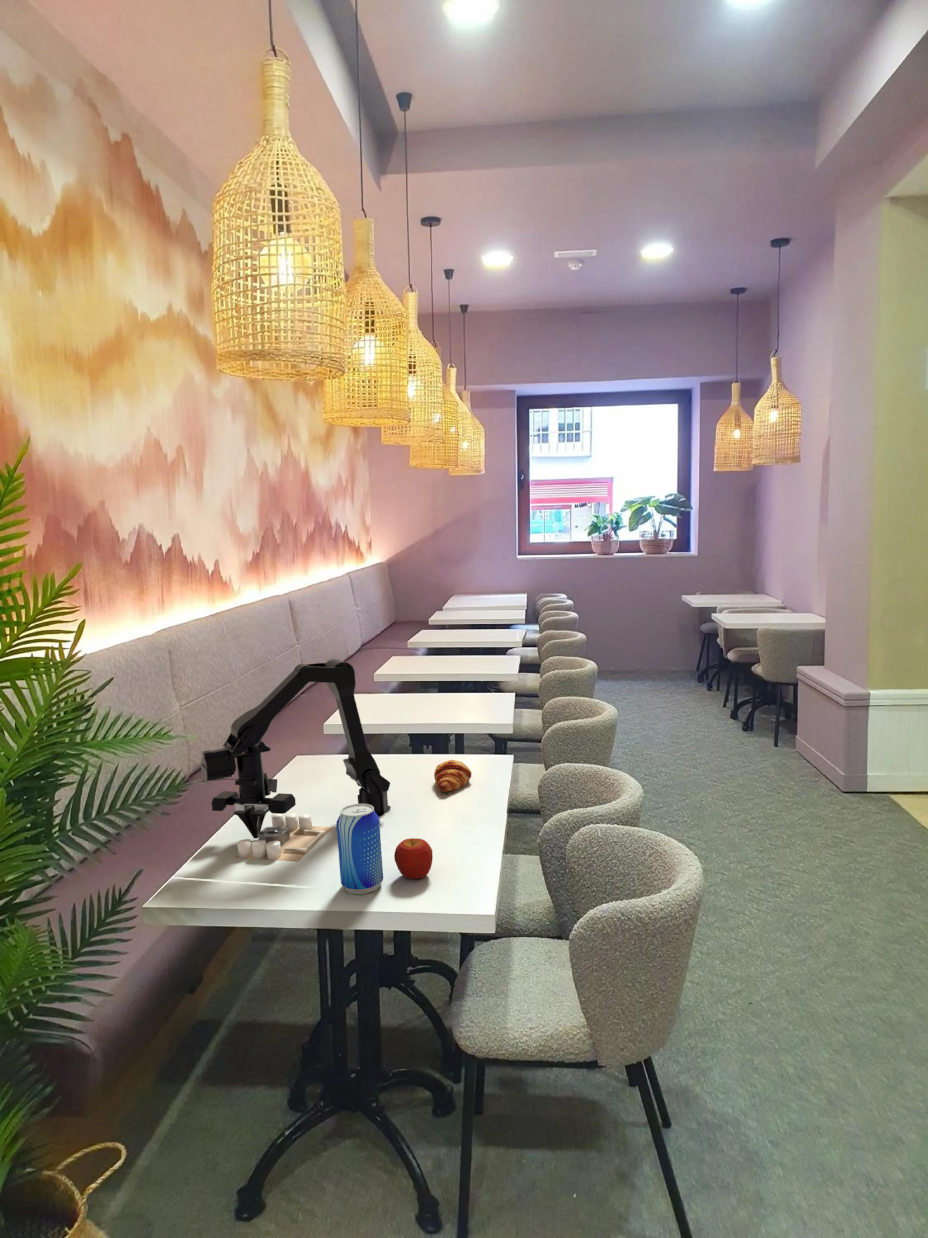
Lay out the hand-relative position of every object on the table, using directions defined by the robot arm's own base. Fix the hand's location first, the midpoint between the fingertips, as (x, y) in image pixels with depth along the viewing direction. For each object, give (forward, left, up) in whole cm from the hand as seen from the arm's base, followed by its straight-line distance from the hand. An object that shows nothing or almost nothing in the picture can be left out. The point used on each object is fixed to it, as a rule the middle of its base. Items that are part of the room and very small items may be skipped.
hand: (256, 837), depth 189 cm
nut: (-5, 0, -1) cm, 5 cm away
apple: (-42, +12, -1) cm, 44 cm away
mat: (-8, 0, -1) cm, 8 cm away
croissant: (-35, -45, -1) cm, 57 cm away
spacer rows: (-5, 0, 0) cm, 5 cm away
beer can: (-33, +18, -1) cm, 38 cm away
